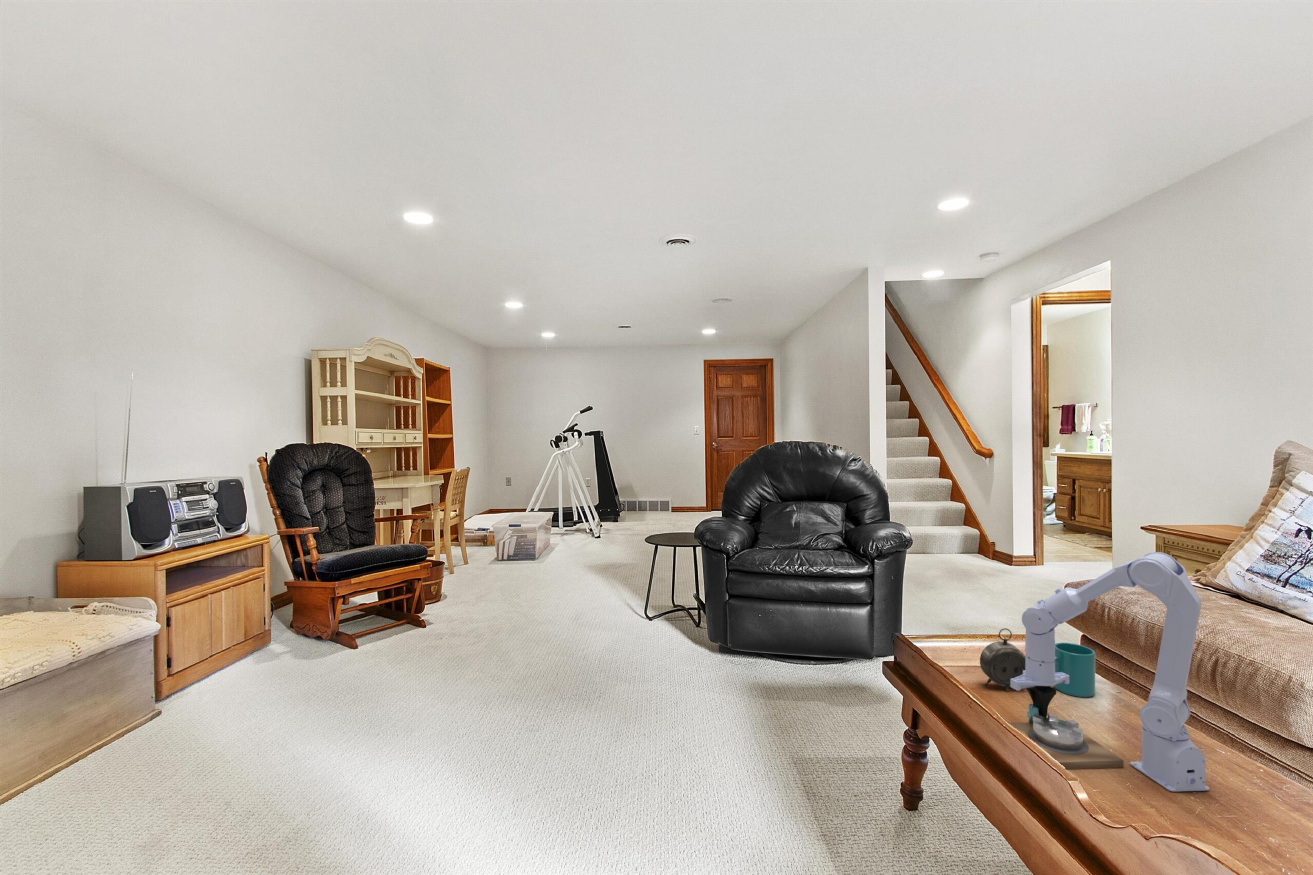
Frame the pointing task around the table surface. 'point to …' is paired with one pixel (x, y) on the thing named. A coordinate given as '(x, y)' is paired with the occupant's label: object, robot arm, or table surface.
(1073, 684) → the cup
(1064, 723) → the rotary knob
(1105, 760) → the dial board
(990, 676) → the alarm clock
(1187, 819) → the table surface
